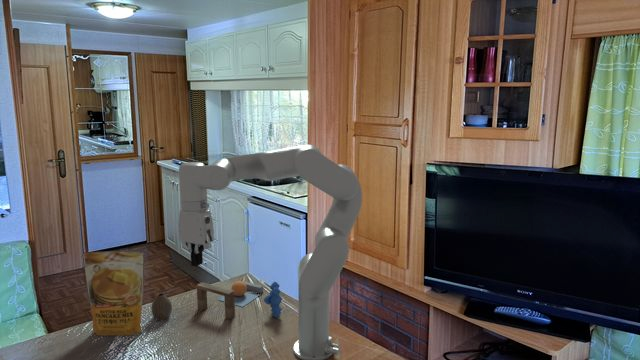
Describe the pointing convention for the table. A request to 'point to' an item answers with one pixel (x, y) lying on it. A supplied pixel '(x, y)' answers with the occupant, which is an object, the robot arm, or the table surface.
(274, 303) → the blue lumpy cluster
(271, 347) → the table surface
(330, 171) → the robot arm
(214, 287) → the bridge
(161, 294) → the vase
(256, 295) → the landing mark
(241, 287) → the ball
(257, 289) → the stopper wall
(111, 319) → the pancake mix bag
